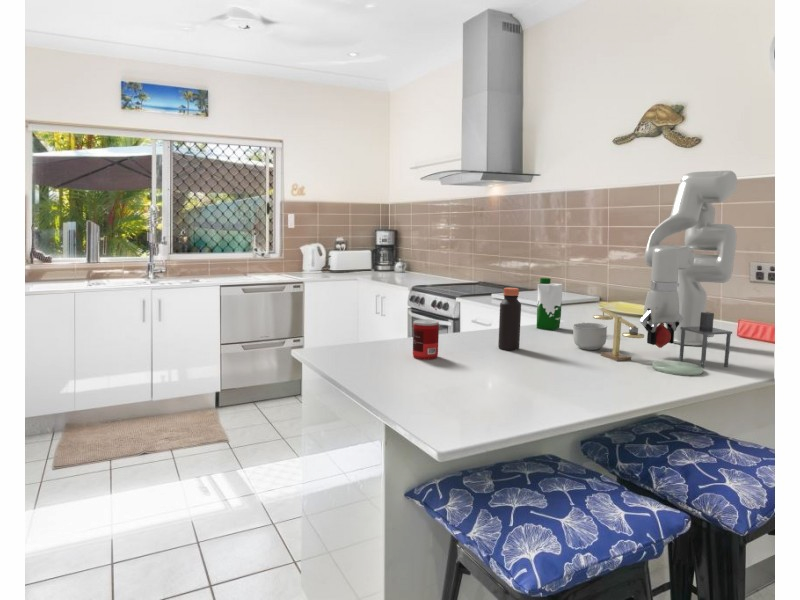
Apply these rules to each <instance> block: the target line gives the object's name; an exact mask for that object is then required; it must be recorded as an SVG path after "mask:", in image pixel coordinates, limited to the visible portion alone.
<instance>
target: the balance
mask: <svg viewBox="0 0 800 600" xmlns="http://www.w3.org/2000/svg"><path fill="white" fill-rule="evenodd" d="M600 311H602V314H594V315H593V316H592V318H593V319H595V320H596V319H597V320H602V321H603V320H604V321H605V320H607V321H609V320H614V325H613V341H612V351H601V352H600V356H602V357H603V358H608V359H610V360H612V361H616V362H623V361H624V362H626V361H627V362H628V361H632V357H631V356H629V355H625V354H623V353H620V347H621V346H620V345H621V335H622V337H625V338H630V339H643V338H645V334H643V333H640V332H639V327H637V326H636V325H635V324H633V323H631V322H629V321H628V320H626V319H624V318H623V317H622V316H619V315H618V314H616V313H614V312H612V311H611V310H609V309H607V308H605V307H602V308H601V310H600ZM606 314H607V315H606ZM622 324H624V325H625V326H626V327H629V328H628V329H629V330H628V331H627V332H623V333H622ZM621 333H622V334H621Z"/></svg>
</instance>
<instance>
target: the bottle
mask: <svg viewBox="0 0 800 600" xmlns="http://www.w3.org/2000/svg"><path fill="white" fill-rule="evenodd" d="M519 294H520V289H519V287H518V288H517V287H504V288H503V297H504V298H503V300H502V301H501V302H500V303H499V321H498V322H499V325H498V345H497V346H498V349H500V350H503V351H508V352H509V351H518V350H519V349H520V341H521V338H520V336H521V320H522V319H521V316H522V315H521V314H522V303H521V302H520V301H519V300H518V297H519Z"/></svg>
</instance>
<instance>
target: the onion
mask: <svg viewBox="0 0 800 600" xmlns="http://www.w3.org/2000/svg"><path fill="white" fill-rule="evenodd" d="M655 332H656V344H655V345H654V346H657V347H658V348H659V349H660V348H664V346H666V345H667V344H670V343H669V341H670V340H671V334H670V331H669V330H668V329H667V326H665V323H659V324H658V325H657V327H656V330H655Z"/></svg>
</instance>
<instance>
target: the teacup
mask: <svg viewBox="0 0 800 600" xmlns="http://www.w3.org/2000/svg"><path fill="white" fill-rule="evenodd" d="M572 327H573V329H572V333H573V334H572V335H573V336H572V337H573V342H574V345H576V346H577V348H579V349H581V350H588V351H590V350H592V351H593V350H594V351H596V350H600V349H601V348H602V347H604V346H605V344H606V343H607V333H608V332H607V331H608V330H607V329H608V326H607V324H605V323H604V324H603V323H598V322H580V323H574V324H573V325H572Z"/></svg>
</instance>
